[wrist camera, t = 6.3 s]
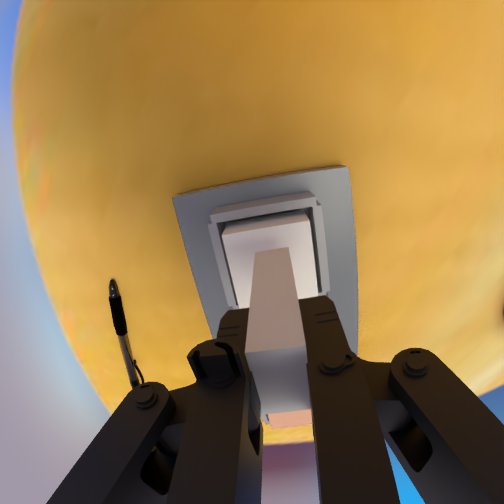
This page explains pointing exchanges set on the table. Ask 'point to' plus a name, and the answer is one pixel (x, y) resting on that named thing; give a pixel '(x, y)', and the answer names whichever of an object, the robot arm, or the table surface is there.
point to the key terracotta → (290, 419)
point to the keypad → (269, 203)
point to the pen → (123, 334)
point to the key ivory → (267, 238)
